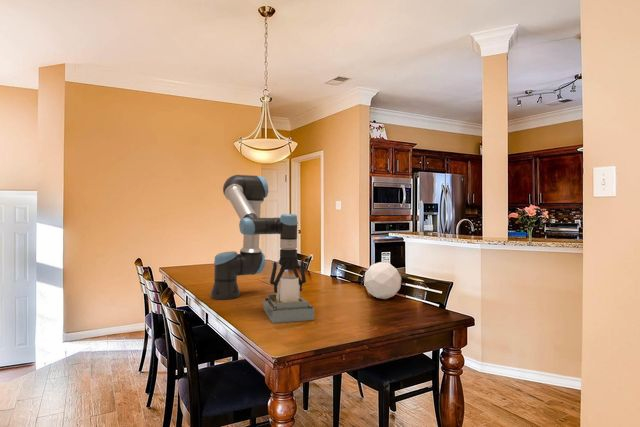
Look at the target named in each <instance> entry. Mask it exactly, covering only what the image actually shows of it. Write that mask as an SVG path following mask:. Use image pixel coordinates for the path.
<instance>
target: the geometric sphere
mask: <svg viewBox="0 0 640 427" xmlns="http://www.w3.org/2000/svg"><path fill="white" fill-rule="evenodd" d="M401 283H402V276H401V274H400V272H399V271H398V269H397V268H396V267H395V266H393V265H392V264H391V263H390V262H381V261H379V262H376V263H374V264H371V265H370V266H369V267H368V269H367V270H366V271H365V273H364V280H363V284H364V287H365V288H366V291H367V293H369V294H371V295H372V297H374V298H375V297H376V298H377V299H381V300H387V299H390V298H392V297H394V296H395V295H396V294H397V293H398V292H399V291H400V289H401V285H402V284H401Z"/></svg>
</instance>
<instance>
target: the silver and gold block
mask: <svg viewBox="0 0 640 427" xmlns="http://www.w3.org/2000/svg"><path fill="white" fill-rule="evenodd" d="M263 311H264V313H265V315H266V316H267V317H268V319H269V320H270V322H271V323H272V324H278V323H280V324H281V323H291V322H294V323H295V322H303V321H307V322H308V321H314V320H315V307H314V306H313V305H312V304H310V301H309V300H305V299H304V298H303V297H302V295H300V299H298V301H297V302H281V301H280V295H279V301H277V300H276V293H269V294H268V297H264V299H263Z"/></svg>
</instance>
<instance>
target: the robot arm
mask: <svg viewBox="0 0 640 427" xmlns="http://www.w3.org/2000/svg"><path fill="white" fill-rule="evenodd" d="M222 192H223V196H224V198H225V199H227V200H228V201H230V204H231V205H232V208H233V209H234V210H235V213H236V214H237V216H238V218H239V222H238V226H239V232H240V233H241V234H242V235H243V240H242V247H241V249H240V250H239V253H238V252H237V251H224V252H220V253H217V254H215V256H214V263H213V265H214V268H213V270H214V275H213V276H214V277H213V278H214V280H213V281H214V282H213V285H212V288H211V292H210V298H211V299H215V300H233V299H237V298H240V296H241V291H240V288H239V285H238V277H239V276H250V275H251V276H254V275H259V274H261V273H262V272H263V271H264V269H265V266H266V255H265V254H264V253H263V251H262V249H261V248H260V235H279V240H280V241H279V248H280V250H279V260H278V261H275V260H274V261H272V270H271V275H270V279H269V283H270V285H272V286H273V292H274V294H276V300H277V301H279V292H280V282H279V281H280V278H281V277H283V274H284V273H285V271H288V270H290V271H292V272H293V275H294V276H295V277H296V278H299V292H298V299H300V296H301V294H300V293H301V292H302V291H303V284H307V279H306V275H305V268H304V266H305V265H304V264H305V262H304V261H303V260H298V250H297V248H298V215H297V214H293V213H282V214H281V215H280V217H279V216H278V217H275V216H274V217H261V211H262V210H261V209H262V208H261V206H262V204H263V203H264V200H265V199H266V198H267V197H268V195H269V183H268V181H267V179H266V178H265V177H264V176H261V175H249V174H246V175H245V174H235V175H234V174H233V175H232V176H229V177H228V178H227V179H226V180H225V182H224V184H223V187H222ZM297 264H298V266H299V267H298V268H299V271H300V275H299V273H298V270H297V267H296V266H297ZM279 265H280V270H279V271H278V273H277V269H278V266H279ZM276 274H277V276H276ZM300 276H301V277H300Z"/></svg>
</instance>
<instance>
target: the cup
mask: <svg viewBox="0 0 640 427" xmlns="http://www.w3.org/2000/svg"><path fill="white" fill-rule="evenodd" d="M298 292H299V278H296V277H295V275H284V276H283V275H282V276H281V278H280V281H279V295H280V301H281V302H297V301H298Z"/></svg>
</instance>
